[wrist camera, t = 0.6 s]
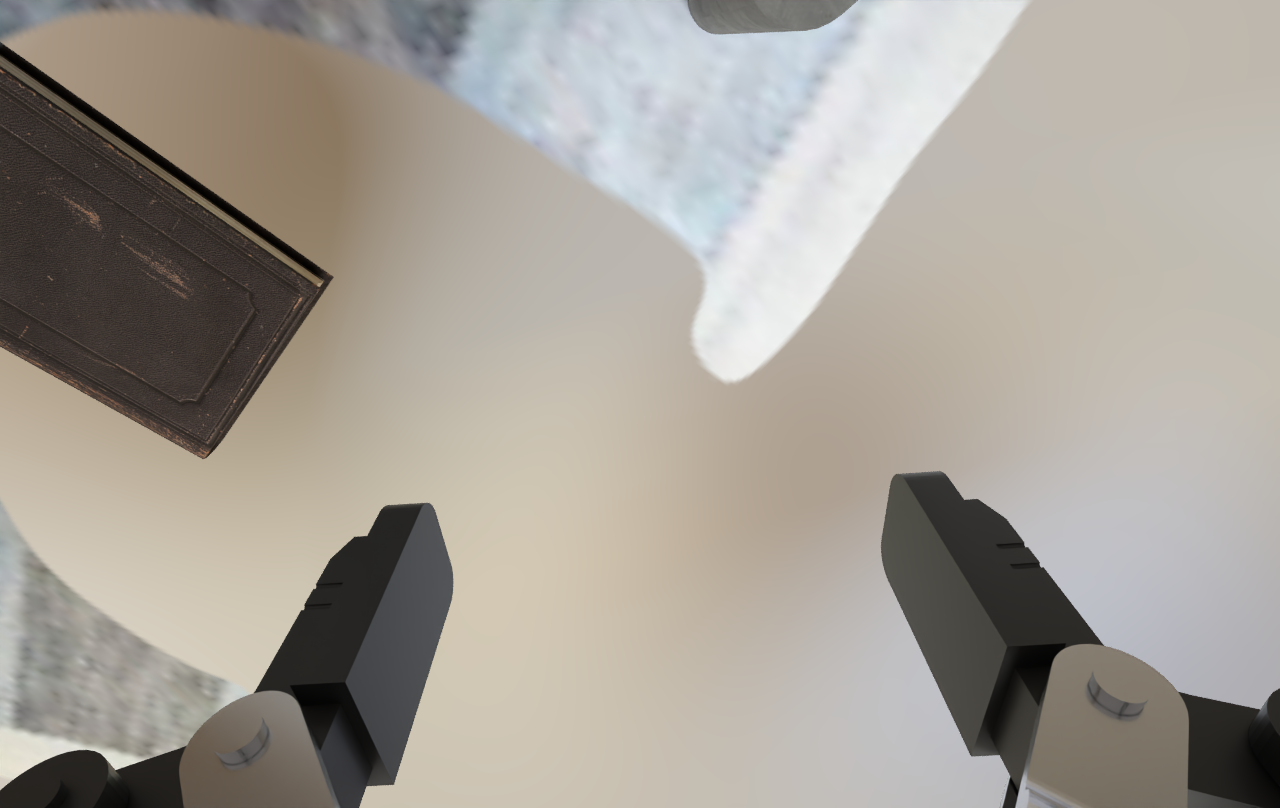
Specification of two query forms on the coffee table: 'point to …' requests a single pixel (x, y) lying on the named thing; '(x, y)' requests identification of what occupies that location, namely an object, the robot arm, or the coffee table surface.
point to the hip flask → (765, 14)
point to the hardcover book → (134, 269)
